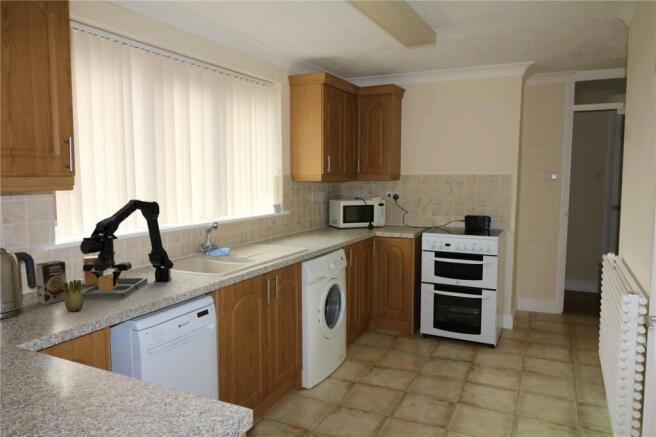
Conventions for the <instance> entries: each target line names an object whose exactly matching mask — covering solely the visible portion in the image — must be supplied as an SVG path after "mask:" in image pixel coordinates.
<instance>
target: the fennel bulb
mask: <svg viewBox="0 0 656 437" xmlns="http://www.w3.org/2000/svg"><path fill="white" fill-rule="evenodd" d="M81 288H82V280H81V279H73V280H70V281H69V282H68V281H66V282H64V289H65V300H64V305H65V309H66V311H67V312H79V311H81V309H82V308H83V306H84V299H83V297H82V293H81V292H82V289H81Z"/></svg>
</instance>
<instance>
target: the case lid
mask: <svg viewBox="0 0 656 437" xmlns="http://www.w3.org/2000/svg"><path fill="white" fill-rule="evenodd" d="M136 291H137V290H136V285H118V287H116V288H114V289H113V290H111V291H99V285H97V286H96V285H92V286H91V287H89V288H87V289H86V290H84V291H81V293H82V297H83V300H124V299H125V298H127V297H129V296H130V295H131V294H133V293H134V292H136Z"/></svg>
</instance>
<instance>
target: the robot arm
mask: <svg viewBox="0 0 656 437" xmlns="http://www.w3.org/2000/svg"><path fill="white" fill-rule="evenodd" d="M137 210H139V211H140V212H141V215H142V216H143V218H144V219H145V221H146V224H147V225H146V226H147V229H148V237H149V240H150V245H151V251H150V252H148V255H147V256H148V261H149V262H150V264H151V265H152V268H154V269H155V271H154V282H169V281H171V280H172V279H173V278H172V276H171V275H172V274H171V269H173V268H174V262H173V261H171V259H170V257H169V255H168V252H167V251H166V249H165V248H164V246H163V242H162V237H161V230H160V226H159V220H158V219H159V216H160V213H161V212H160V204H159V203H158V202H157V201H151V200H144V201H143V200H141V199H129V201H128V202H127V203H125V205H124V206H122V207H121V208H120V209H118V211H116V212H115V213H114V214H112V215H111V216H109V217H106V218H103V219H102V220H100V221H98V222H96V224H95V227H94V230H93V231H92V233H91V235H90V237H83V238H82V240H81V242H80V245H79V249H80V252H81V253H82V254H83V255H90V254H95V253H98V254H97V256H98V259H97V260H96V261H95V262H90V263H87V264H84V265H83V264H82V272H83V271H91V273H93V274H95V275H96V277H97V279H98V278H99V277H101V276H103V274H104V272H105V271H107V270H111V269H112V270H113V269H114V270H113V271H111V272H112V274H113V285H114V286H116V283H117V281H118V278H120V276H121V274H122V272H127V271H129V270H131V269H132V262H129V261H125V262H120V263H117V264H116V262H117V261H116V260H115V255H116V251H115V248H114V247H115V246H114V240H118V239H119V237H118V236H116V235H115V234H116V231H118V229H119V226H120V225H121V224H122V223H123V222H124V221H125V220H126V219H127V218H129V217H130V216H131V215H132V214H133V213H134V212H136V211H137Z"/></svg>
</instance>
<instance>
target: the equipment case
mask: <svg viewBox="0 0 656 437" xmlns="http://www.w3.org/2000/svg"><path fill="white" fill-rule="evenodd" d="M117 283H118V285H136V291H138V290H140V289H141V288H142V287H143V286H145V285H147V284H148V283H149V282H148V277H119V278H118V281H117ZM97 285H99V284H97ZM97 285H95V286H97Z"/></svg>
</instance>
